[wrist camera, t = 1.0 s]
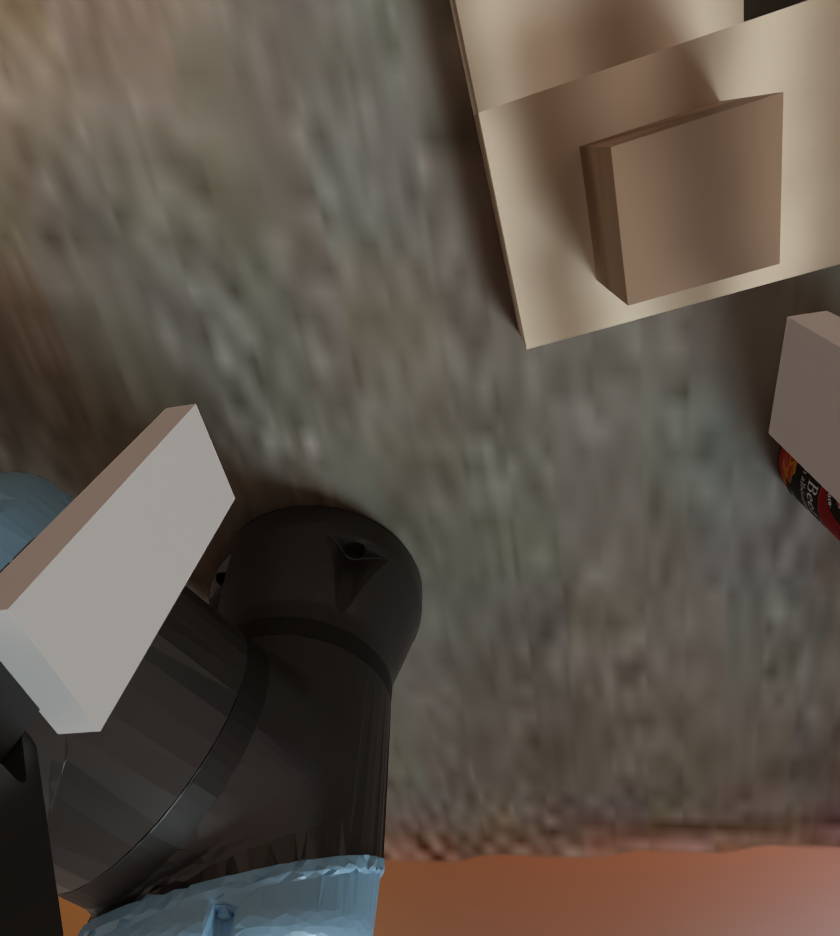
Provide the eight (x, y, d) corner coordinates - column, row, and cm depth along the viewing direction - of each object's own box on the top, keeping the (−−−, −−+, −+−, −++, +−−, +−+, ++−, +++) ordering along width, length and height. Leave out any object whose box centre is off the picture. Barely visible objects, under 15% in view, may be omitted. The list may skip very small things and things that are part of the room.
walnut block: (596, 280, 28) (628, 305, 24) (579, 146, 25) (610, 147, 21) (723, 244, 27) (779, 263, 23) (719, 101, 24) (783, 91, 20)
